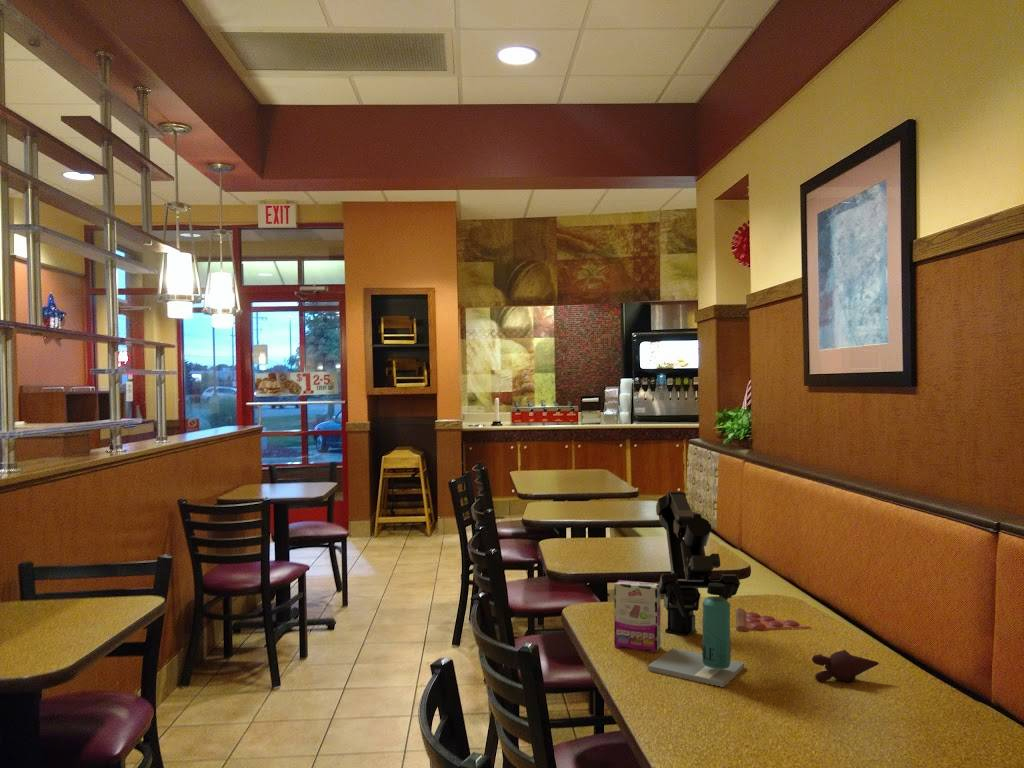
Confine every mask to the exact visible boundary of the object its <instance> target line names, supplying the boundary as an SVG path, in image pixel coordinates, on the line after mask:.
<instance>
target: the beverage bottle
mask: <svg viewBox="0 0 1024 768" xmlns="http://www.w3.org/2000/svg"><path fill="white" fill-rule="evenodd" d="M706 589H707V590H706V593H707V594H709V595H712V596H708V597H707V598H704V600H703V601H702V619H701V621H702V622H701V623H702V627H701V628H702V643H701V652H702V654H703V658H702V659H703V664H704V665H705V666H707V667H710V668H715V669H725V668H728V667H729V666H730V660H731V651H732V649H731V603H730V601H728V599H727V600H726V599H725V598H722V597H719V595H725V594H726V591H725V585H724V584H721V583H709V584H708V588H706Z"/></svg>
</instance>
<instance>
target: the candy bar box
mask: <svg viewBox="0 0 1024 768" xmlns="http://www.w3.org/2000/svg"><path fill="white" fill-rule="evenodd" d="M613 589H614V591H613V592H614V594H613V596H614V604H613V605H614V618H613V619H614V621H613V622H614V638H613V639H614V641H613V642H614V643H613V644H614V645H613V646H614V648H617V649H626V650H633V651H640V652H648V653H649V652H650V653H658V651H659V650H660V648H661V647H662V646H661V639H662V637H661V631H662V630H661V628H662V627H661V620H662V618H661V594H660V592H659V583H655V582H646V581H644V582H643V581H635V580H623V579H618V580H617V581H616V582H615V583H614V588H613Z"/></svg>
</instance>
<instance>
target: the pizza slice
mask: <svg viewBox="0 0 1024 768" xmlns="http://www.w3.org/2000/svg"><path fill="white" fill-rule="evenodd" d="M792 628H811V629H812V627H811V626H810V625H808V624H804V623H803V624H802V623H799V622H798V621H796V620H793V619H792V620H791V619H788V620H784V619H779V618H775V617H773V616H770V615H760V614H759V613H757V612H755V611H754V612H753V611H750V612H749V611H746V610H745V609H744V608H740V607H738V608H736V611H735V630H736V631H737V632H750V631H749V630H752V631H751V632H753V631H754V630H757V631H776V630H775V629H785V630H793V629H792Z"/></svg>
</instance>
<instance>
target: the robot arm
mask: <svg viewBox="0 0 1024 768" xmlns="http://www.w3.org/2000/svg"><path fill="white" fill-rule="evenodd" d="M655 506H656V509H655V512H656V516H658V520H659V524H660V525H661V526H662V527H663V529H664V530H665V532H666V541H667V548H668V556H669V564H670V565H669V566H670V572H671V573H668V572H667V573H664V572H663V573H662V574H661V575H660V579H659V582H658V584H659V592H660V595H664V596H663V607H664V608H665V610H666V611H667V628H665V629H664V631H665V632H666V633H672V634H676V635H681V636H690V635H691V634H692V633H694V632H695V631H696V630H697V628H696V615H695V614H694V612H697V611H699V610H700V609H699V608H700V599H701V593H700V590H699V589H708V584H709V583H721V584H724V585H725V591H726V594H725V595H718V597H722V598H725V599H726V600H727V601H728V599H731V598H733V596H735V595H737V593H738V591H739V590H738V589H740V588H739V587H740V585H741V583H740V577H739V576H738V575H736V574H735V573H734V574H732V573H730V574H729V573H728V574H727V573H726V574H723V573H722V574H721V576H720V578H719V579H711V578H710V577H712V575H713V572H712V571H713V570H714V569H718V568H720V567H721V558H720V554H719V553H711V554H710V555H706V550H705V547H706V546H707V545H708V541H709V537H710V534H711V531H712V525H711V523H710V522H709V521H708V520H707V519H706V518H703V517H702V514H701V513H698V512H695V511H693V510H692V508H691V506H690V504H689V502H688V498H687V495H686V492H684V491H668V492H666V494H665V495H664V496H662V497H660V498H659V499H658V500H657V501H656V505H655Z"/></svg>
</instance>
